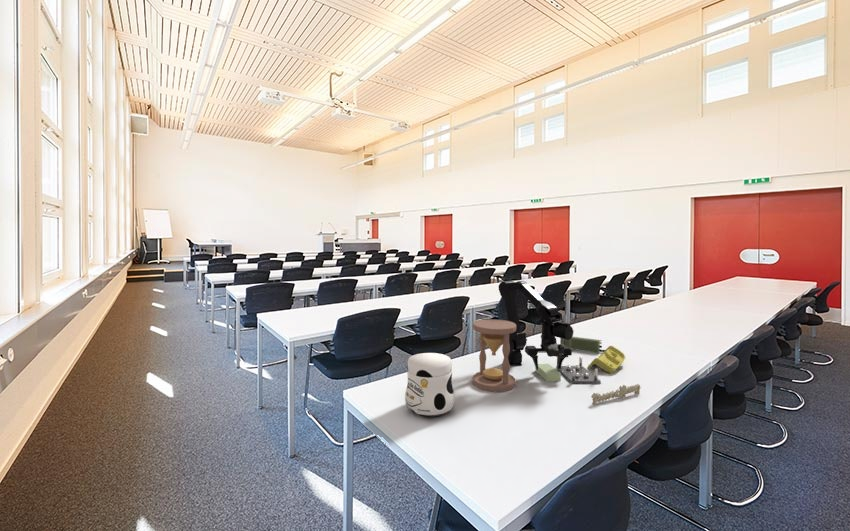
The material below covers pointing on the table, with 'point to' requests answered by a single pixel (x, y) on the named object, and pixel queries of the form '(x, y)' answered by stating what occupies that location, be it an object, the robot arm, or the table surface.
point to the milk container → (429, 384)
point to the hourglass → (494, 339)
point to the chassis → (579, 374)
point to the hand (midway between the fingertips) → (547, 369)
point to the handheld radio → (583, 344)
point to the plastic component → (609, 359)
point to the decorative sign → (616, 393)
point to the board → (548, 372)
